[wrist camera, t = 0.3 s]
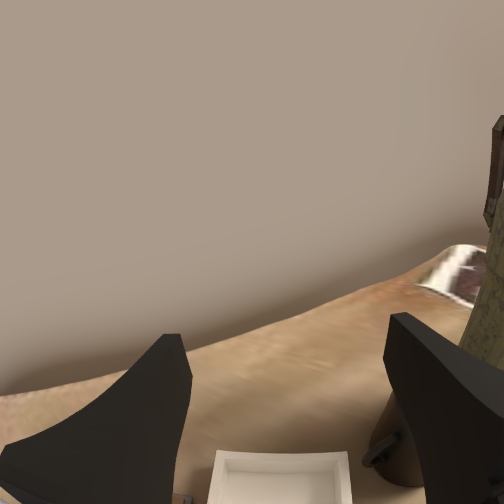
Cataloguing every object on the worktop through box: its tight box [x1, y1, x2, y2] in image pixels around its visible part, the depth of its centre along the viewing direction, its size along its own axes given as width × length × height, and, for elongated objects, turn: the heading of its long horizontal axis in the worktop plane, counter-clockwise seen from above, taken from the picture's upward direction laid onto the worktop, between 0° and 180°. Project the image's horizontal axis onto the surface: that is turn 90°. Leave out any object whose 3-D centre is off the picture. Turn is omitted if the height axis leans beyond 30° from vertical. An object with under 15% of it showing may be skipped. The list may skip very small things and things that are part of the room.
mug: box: [362, 391, 424, 487], centre depth 21 cm, size 9×12×9 cm
